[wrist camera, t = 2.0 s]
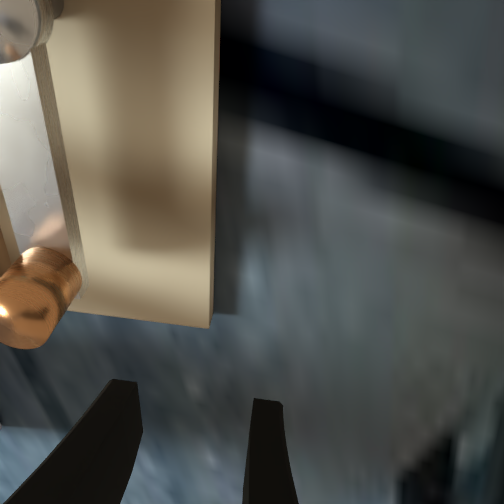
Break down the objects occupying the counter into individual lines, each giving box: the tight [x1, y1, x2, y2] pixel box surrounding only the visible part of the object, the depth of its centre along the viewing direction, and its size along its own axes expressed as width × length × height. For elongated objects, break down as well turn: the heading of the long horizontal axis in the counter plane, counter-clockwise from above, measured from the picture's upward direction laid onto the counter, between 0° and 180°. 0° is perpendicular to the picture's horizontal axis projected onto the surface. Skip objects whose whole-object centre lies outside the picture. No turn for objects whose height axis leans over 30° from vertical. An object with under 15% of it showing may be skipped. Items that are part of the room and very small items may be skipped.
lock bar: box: [0, 0, 90, 349], centre depth 12 cm, size 10×2×3 cm, turn 176°
